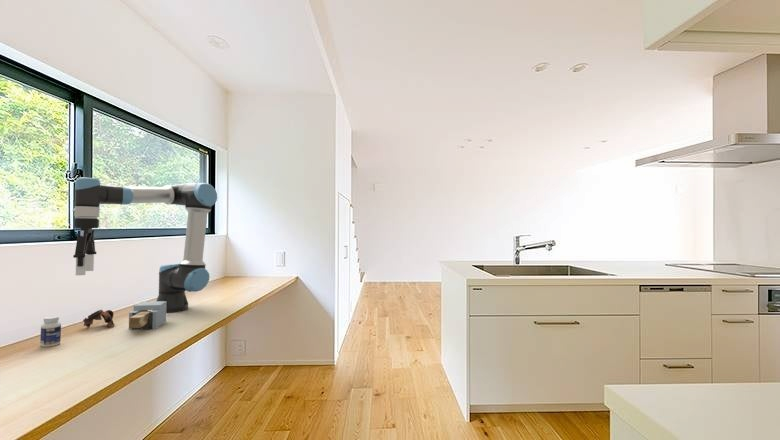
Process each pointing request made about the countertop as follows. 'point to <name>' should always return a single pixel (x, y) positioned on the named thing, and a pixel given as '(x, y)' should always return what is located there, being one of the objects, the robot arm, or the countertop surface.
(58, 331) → the pill bottle
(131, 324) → the peg
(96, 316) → the brown curved piece
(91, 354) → the countertop surface
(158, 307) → the sleeve block
